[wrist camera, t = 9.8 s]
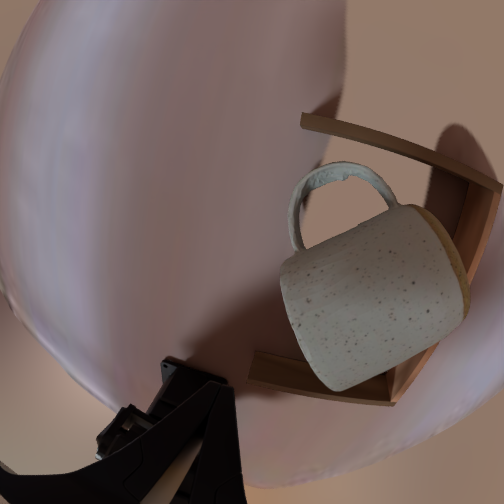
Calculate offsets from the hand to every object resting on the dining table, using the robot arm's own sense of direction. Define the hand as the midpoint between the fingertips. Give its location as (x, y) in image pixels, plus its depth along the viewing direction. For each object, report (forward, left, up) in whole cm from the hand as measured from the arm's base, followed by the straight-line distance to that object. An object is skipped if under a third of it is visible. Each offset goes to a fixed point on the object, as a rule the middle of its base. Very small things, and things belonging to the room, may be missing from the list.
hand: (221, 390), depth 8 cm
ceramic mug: (+2, -5, -10) cm, 12 cm away
